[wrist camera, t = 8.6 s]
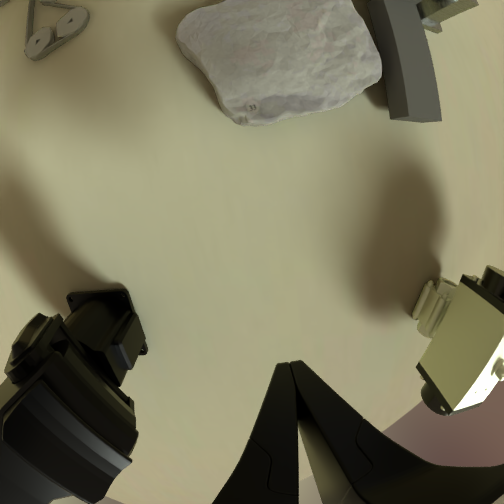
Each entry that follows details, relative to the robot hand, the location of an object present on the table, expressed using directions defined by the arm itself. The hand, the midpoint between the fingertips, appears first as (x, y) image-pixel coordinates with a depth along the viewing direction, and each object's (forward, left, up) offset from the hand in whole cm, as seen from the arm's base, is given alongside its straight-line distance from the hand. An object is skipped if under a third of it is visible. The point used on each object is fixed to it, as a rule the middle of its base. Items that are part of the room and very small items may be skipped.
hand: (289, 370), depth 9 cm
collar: (+11, +16, -11) cm, 23 cm away
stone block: (+3, +14, -12) cm, 19 cm away
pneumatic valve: (+16, -7, -12) cm, 21 cm away
